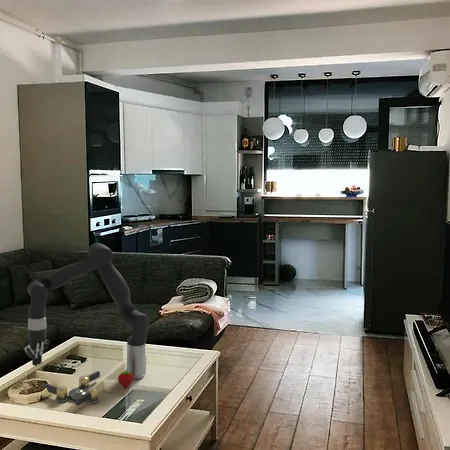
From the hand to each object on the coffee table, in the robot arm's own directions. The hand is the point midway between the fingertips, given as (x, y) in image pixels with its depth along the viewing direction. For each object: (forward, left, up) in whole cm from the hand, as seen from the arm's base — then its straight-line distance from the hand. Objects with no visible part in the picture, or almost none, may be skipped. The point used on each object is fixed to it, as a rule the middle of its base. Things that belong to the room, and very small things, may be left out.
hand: (37, 364), depth 220 cm
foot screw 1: (-7, +5, -16) cm, 18 cm away
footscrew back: (-24, +8, -16) cm, 30 cm away
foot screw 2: (-10, +20, -16) cm, 28 cm away
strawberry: (-32, +24, -17) cm, 43 cm away
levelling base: (-13, +15, -17) cm, 26 cm away
